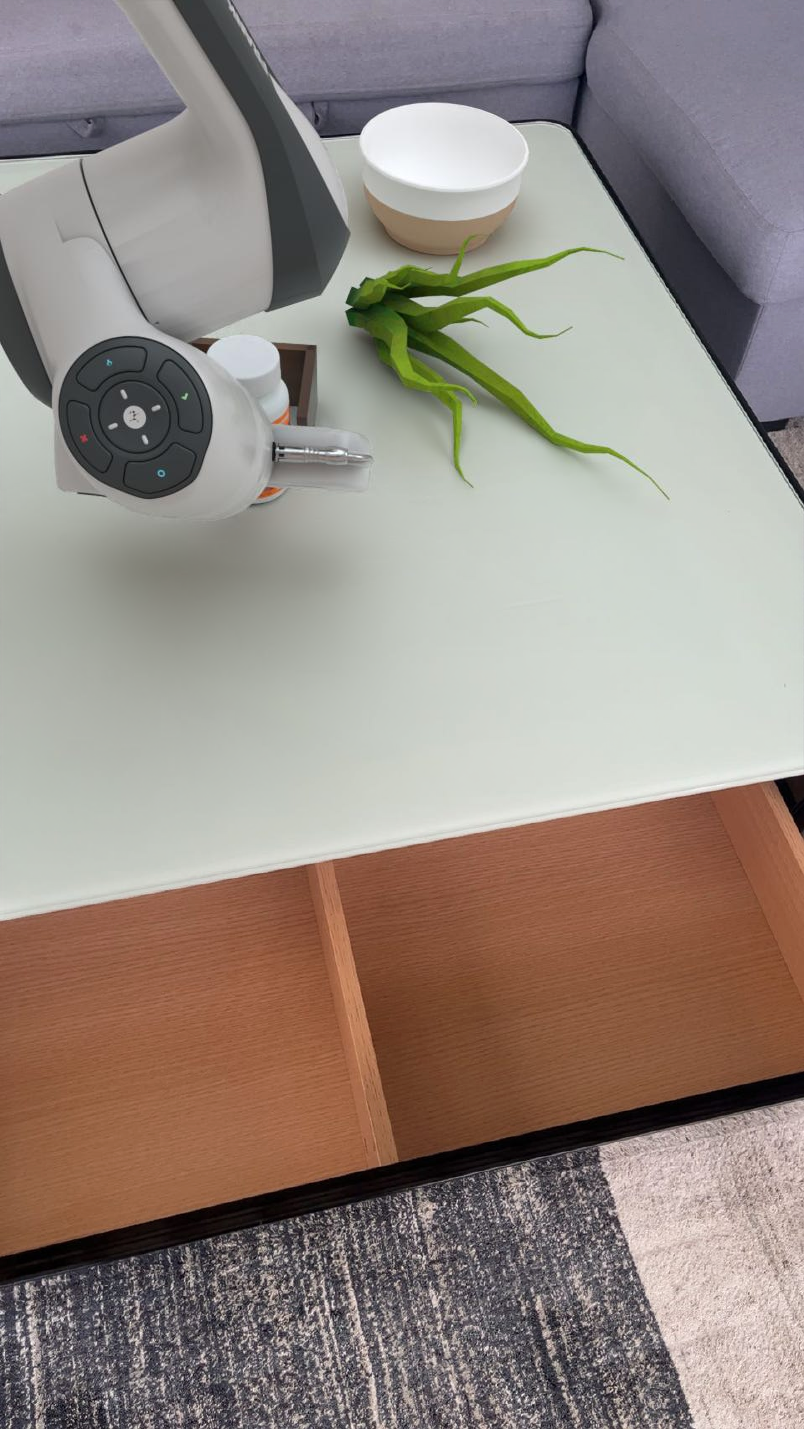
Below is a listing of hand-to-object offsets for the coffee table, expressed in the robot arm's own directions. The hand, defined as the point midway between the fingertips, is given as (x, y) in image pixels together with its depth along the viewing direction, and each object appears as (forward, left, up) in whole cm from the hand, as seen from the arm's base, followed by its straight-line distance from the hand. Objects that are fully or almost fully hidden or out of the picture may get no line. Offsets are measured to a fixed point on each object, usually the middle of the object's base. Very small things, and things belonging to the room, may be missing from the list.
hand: (234, 462), depth 77 cm
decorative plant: (+20, +14, -5) cm, 25 cm away
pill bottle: (+1, +4, -5) cm, 6 cm away
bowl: (+15, +42, -5) cm, 45 cm away
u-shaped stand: (0, +10, -5) cm, 11 cm away
